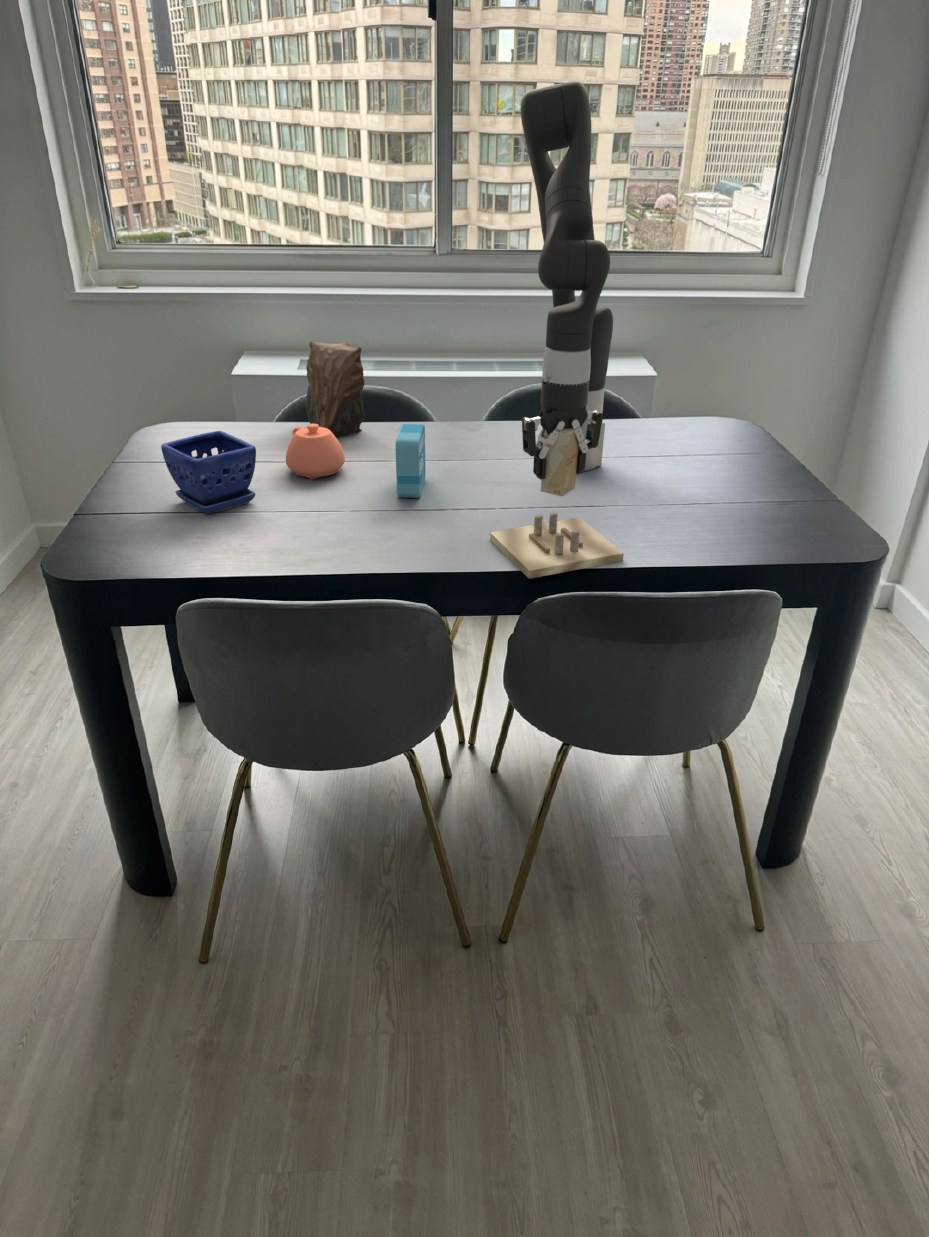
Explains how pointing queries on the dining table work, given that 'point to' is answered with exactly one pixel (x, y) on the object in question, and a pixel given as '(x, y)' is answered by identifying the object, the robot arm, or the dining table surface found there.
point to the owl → (335, 387)
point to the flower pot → (211, 470)
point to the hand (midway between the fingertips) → (558, 475)
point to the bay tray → (555, 546)
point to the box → (561, 464)
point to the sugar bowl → (314, 452)
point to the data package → (410, 460)
